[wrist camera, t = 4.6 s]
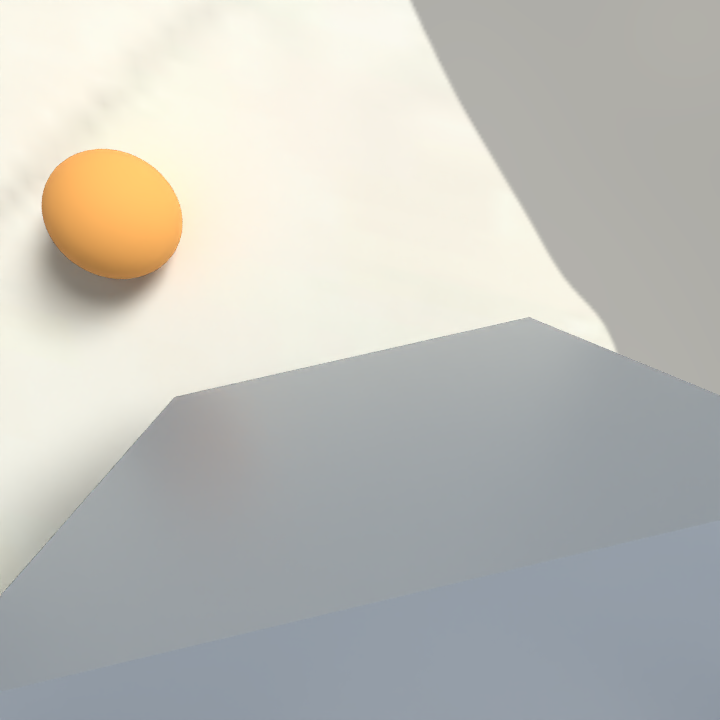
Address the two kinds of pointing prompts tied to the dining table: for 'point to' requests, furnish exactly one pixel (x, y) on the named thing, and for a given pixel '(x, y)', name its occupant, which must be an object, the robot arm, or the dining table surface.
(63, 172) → the ball
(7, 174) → the dining table surface
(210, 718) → the slate blue cube
